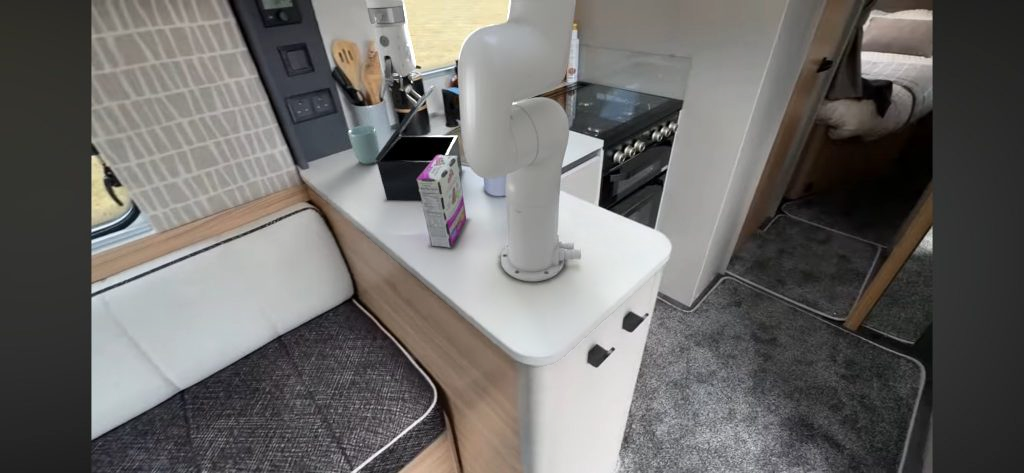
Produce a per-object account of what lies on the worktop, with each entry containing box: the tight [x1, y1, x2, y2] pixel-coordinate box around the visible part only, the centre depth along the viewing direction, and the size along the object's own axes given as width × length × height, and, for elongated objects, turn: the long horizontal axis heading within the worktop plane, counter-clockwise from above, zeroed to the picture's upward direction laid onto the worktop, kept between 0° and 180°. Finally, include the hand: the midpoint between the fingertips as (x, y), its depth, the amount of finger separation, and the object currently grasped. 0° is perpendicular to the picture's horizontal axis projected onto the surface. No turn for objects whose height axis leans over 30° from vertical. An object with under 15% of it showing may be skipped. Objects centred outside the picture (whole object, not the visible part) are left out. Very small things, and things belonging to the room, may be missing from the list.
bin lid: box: [375, 84, 436, 162], centre depth 91 cm, size 17×17×5 cm
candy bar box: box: [416, 155, 468, 249], centre depth 79 cm, size 11×5×16 cm, turn 168°
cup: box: [347, 125, 381, 165], centre depth 113 cm, size 8×8×10 cm
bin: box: [376, 135, 463, 202], centre depth 99 cm, size 17×17×11 cm
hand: (405, 103), depth 90 cm, fingers closed on bin lid, 5 cm apart
